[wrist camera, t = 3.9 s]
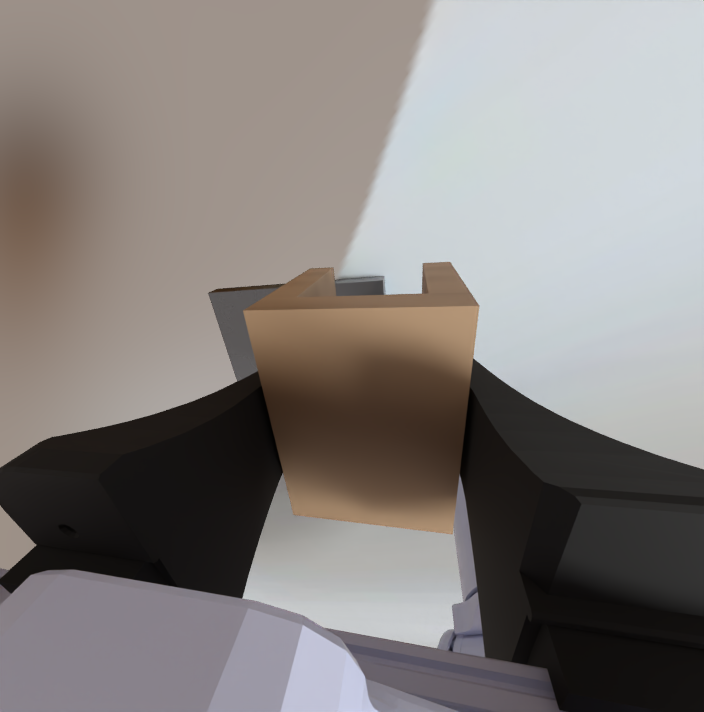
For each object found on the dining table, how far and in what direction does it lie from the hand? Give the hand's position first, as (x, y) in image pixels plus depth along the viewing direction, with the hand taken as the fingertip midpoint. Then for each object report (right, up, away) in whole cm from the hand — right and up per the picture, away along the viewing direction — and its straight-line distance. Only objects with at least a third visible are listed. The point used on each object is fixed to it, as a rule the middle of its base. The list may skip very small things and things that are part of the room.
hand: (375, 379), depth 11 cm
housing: (0, +1, +1) cm, 2 cm away
